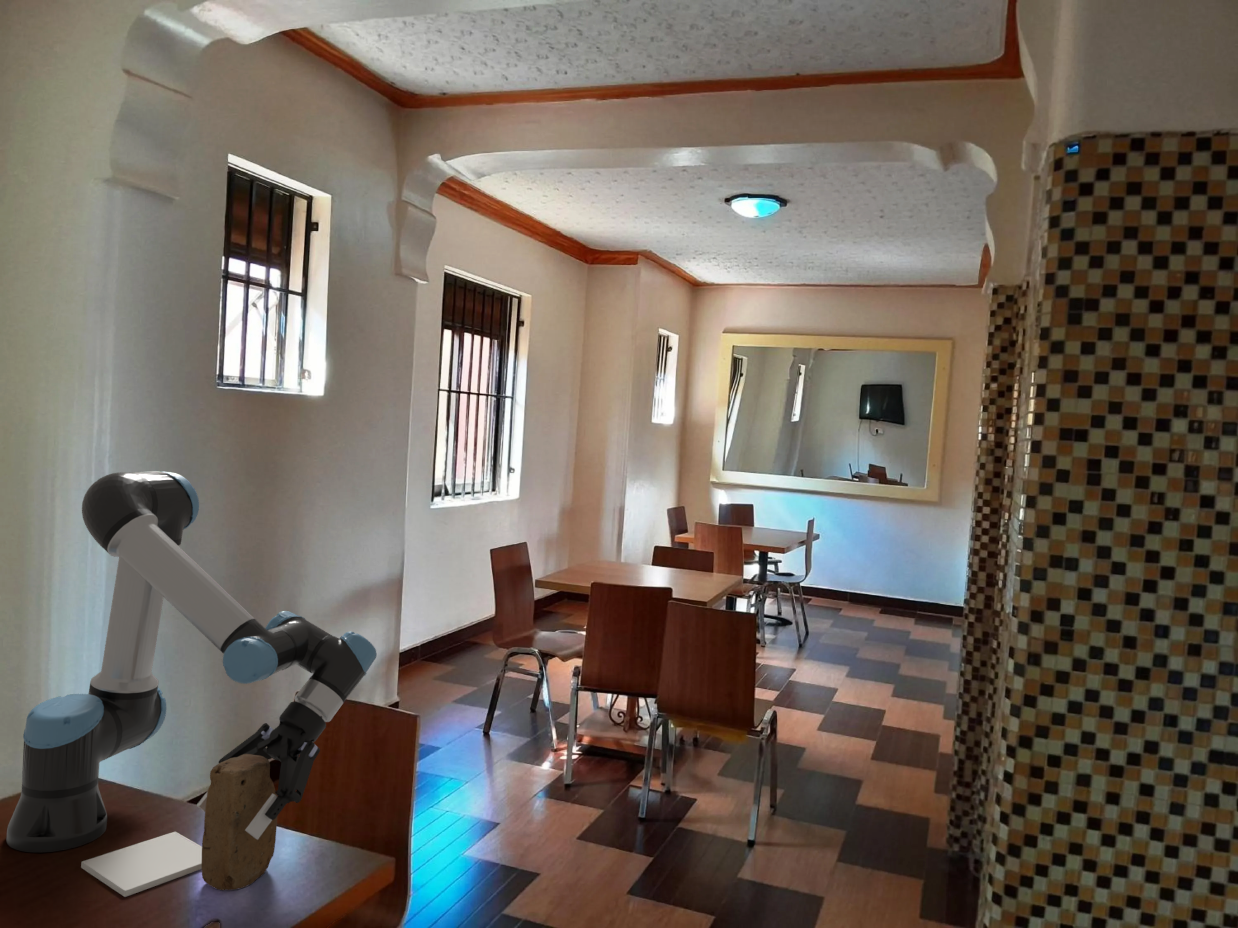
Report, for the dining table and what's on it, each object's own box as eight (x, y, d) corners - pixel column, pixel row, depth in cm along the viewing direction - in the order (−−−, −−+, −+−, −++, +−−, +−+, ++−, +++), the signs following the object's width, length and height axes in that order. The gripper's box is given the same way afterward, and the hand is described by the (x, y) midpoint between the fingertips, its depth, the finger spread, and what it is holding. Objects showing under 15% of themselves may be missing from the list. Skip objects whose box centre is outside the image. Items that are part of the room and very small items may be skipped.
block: (225, 898, 145) (234, 773, 144) (194, 884, 148) (202, 762, 147) (280, 871, 154) (288, 755, 154) (249, 859, 158) (256, 745, 157)
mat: (81, 867, 151) (81, 861, 151) (174, 836, 164) (175, 831, 164) (124, 896, 143) (125, 890, 143) (219, 862, 156) (219, 856, 156)
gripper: (368, 741, 156) (286, 857, 144) (278, 707, 170) (197, 810, 158) (345, 716, 151) (259, 834, 139) (255, 684, 165) (169, 788, 153)
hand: (226, 822), depth 148 cm, fingers open, 13 cm apart
